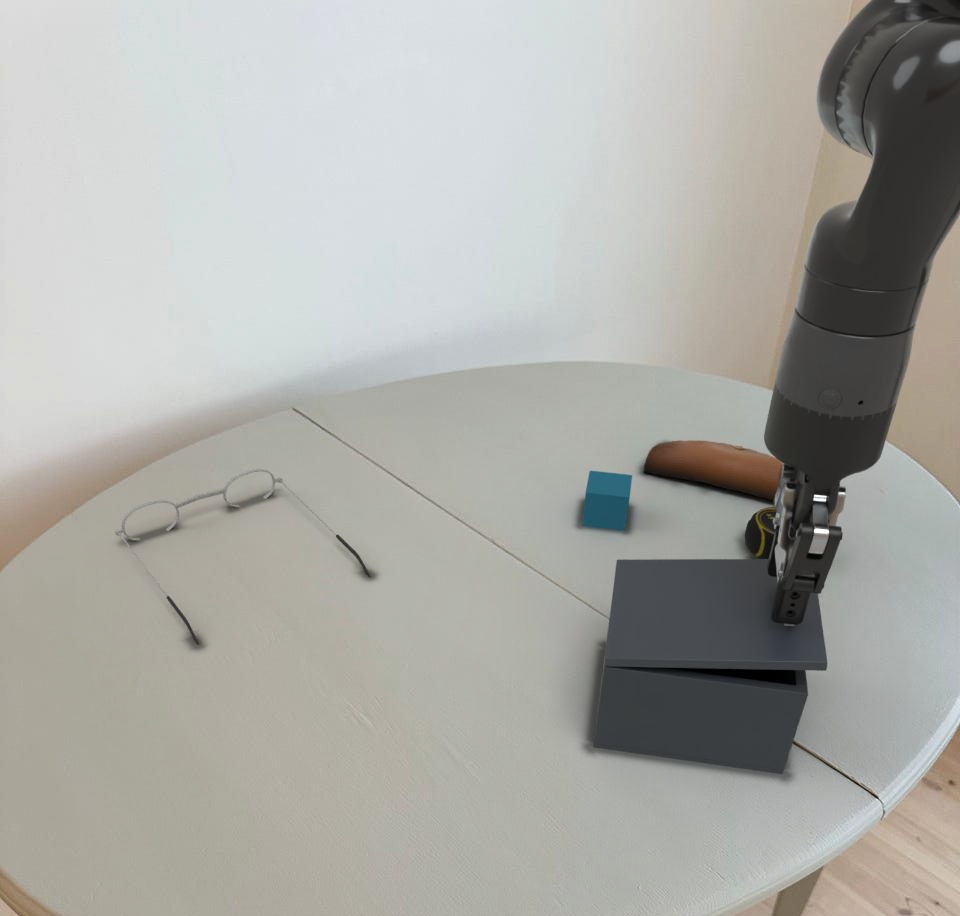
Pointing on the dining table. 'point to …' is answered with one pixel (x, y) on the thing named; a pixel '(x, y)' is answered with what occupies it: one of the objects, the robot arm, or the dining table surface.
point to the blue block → (607, 500)
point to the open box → (702, 714)
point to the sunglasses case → (716, 466)
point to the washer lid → (707, 617)
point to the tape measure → (761, 532)
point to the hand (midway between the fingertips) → (783, 596)
